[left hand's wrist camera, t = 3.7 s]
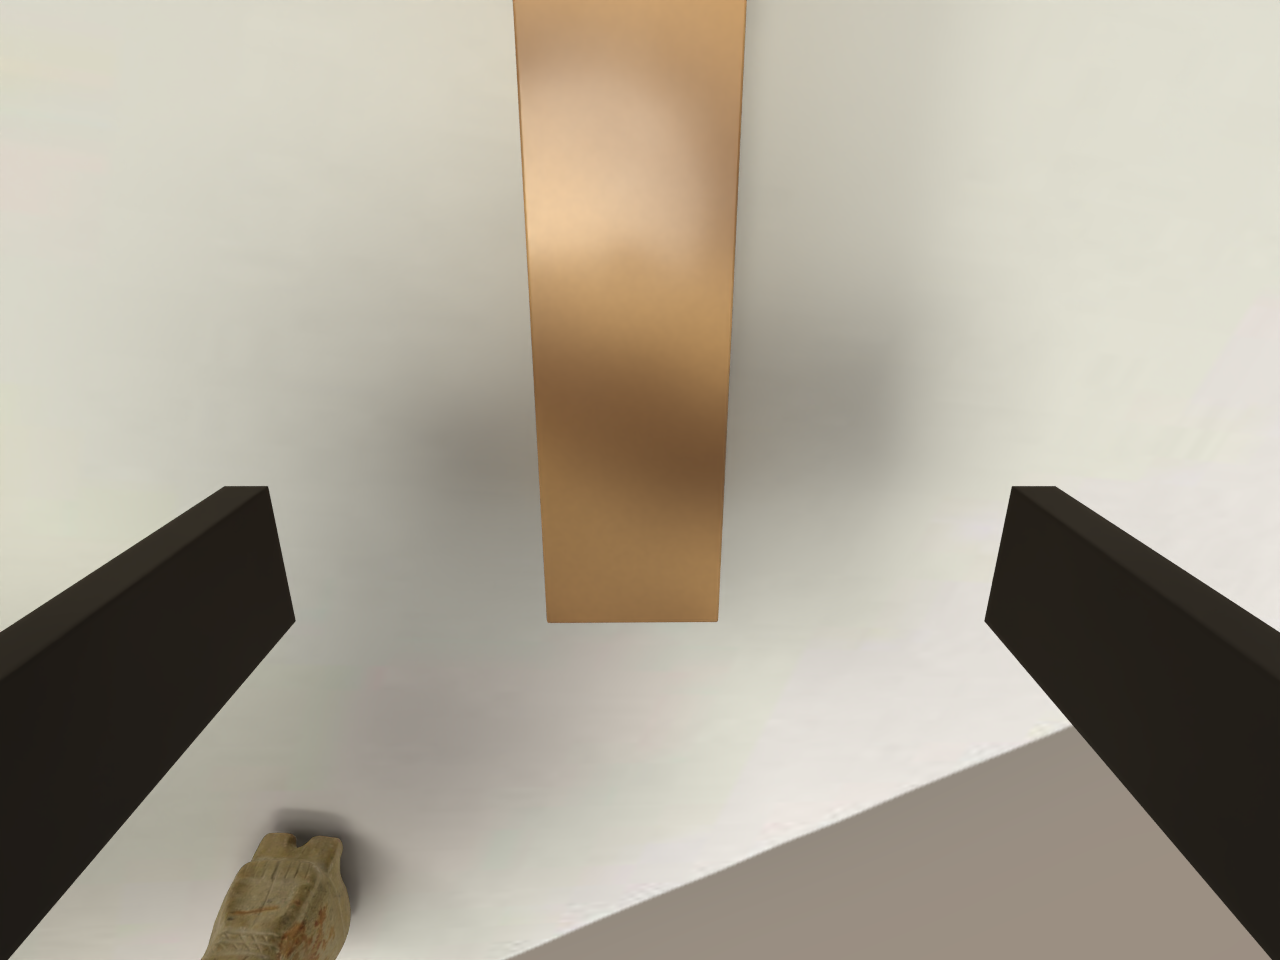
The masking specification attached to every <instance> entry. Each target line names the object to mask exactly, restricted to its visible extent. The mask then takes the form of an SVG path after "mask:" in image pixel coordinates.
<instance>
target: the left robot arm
mask: <svg viewBox="0 0 1280 960" xmlns="http://www.w3.org/2000/svg"><path fill="white" fill-rule="evenodd" d="M294 622H295V616H294V611H293V606H292V601H291V596H290V591H289V586H288V582H287V577H286V572H285V567H284V562H283V557H282V552H281V547H280V542H279V538H278V533H277V528H276V523H275V518H274V513H273V508H272V503H271V498H270V494H269V489H268V486H224V487H223V488H221V489H220V490H218V491H217V492H215V493H214V494H212V495H211V496H209V497H207V498H206V499H204V500H203V501H201V502H200V503H198V504H197V505H195V506H194V507H192V508H191V509H189V510H187V511H186V512H184V513H183V514H181V515H180V516H178V517H177V518H175V519H174V520H172V521H171V522H169V523H168V524H166V525H164V526H163V527H161V528H160V529H158V530H157V531H155V532H154V533H152V534H151V535H149V536H148V537H146V538H145V539H143V540H141V541H140V542H138V543H137V544H135V545H134V546H132V547H131V548H129V549H128V550H126V551H125V552H123V553H121V554H120V555H118V556H117V557H115V558H114V559H112V560H111V561H109V562H108V563H106V564H105V565H103V566H102V567H100V568H98V569H97V570H95V571H94V572H92V573H91V574H89V575H88V576H86V577H85V578H83V579H82V580H80V581H79V582H77V583H75V584H74V585H72V586H71V587H69V588H68V589H66V590H65V591H63V592H62V593H60V594H59V595H57V596H55V597H54V598H52V599H51V600H49V601H48V602H46V603H45V604H43V605H42V606H40V607H39V608H37V609H36V610H34V611H32V612H31V613H29V614H28V615H26V616H25V617H23V618H22V619H20V620H19V621H17V622H16V623H14V624H13V625H11V626H9V627H8V628H6V629H5V630H3V631H2V632H0V960H8V959H9V958H10V957H11V955H12V954H13V953H14V952H15V951H16V950H17V948H18V947H19V946H20V945H21V944H22V943H23V941H24V940H25V939H26V938H27V937H28V935H29V934H30V933H31V932H32V931H33V930H34V928H35V927H36V926H37V925H38V924H39V923H40V921H41V920H42V919H43V918H44V917H45V915H46V914H47V913H48V912H49V911H50V910H51V908H52V907H53V906H54V905H55V904H56V902H57V901H58V900H59V899H60V898H61V897H62V895H63V894H64V893H65V892H66V891H67V890H68V888H69V887H70V886H71V885H72V884H73V882H74V881H75V880H76V879H77V878H78V877H79V875H80V874H81V873H82V872H83V871H84V870H85V868H86V867H87V866H88V865H89V864H90V862H91V861H92V860H93V859H94V858H95V857H96V855H97V854H98V853H99V852H100V851H101V850H102V848H103V847H104V846H105V845H106V844H107V842H108V841H109V840H110V839H111V838H112V837H113V835H114V834H115V833H116V832H117V831H118V830H119V828H120V827H121V826H122V825H123V824H124V822H125V821H126V820H127V819H128V818H129V817H130V815H131V814H132V813H133V812H134V811H135V810H136V808H137V807H138V806H139V805H140V804H141V802H142V801H143V800H144V799H145V798H146V797H147V795H148V794H149V793H150V792H151V791H152V789H153V788H154V787H155V786H156V785H157V784H158V782H159V781H160V780H161V779H162V778H163V777H164V775H165V774H166V773H167V772H168V771H169V769H170V768H171V767H172V766H173V765H174V764H175V762H176V761H177V760H178V759H179V758H180V757H181V755H182V754H183V753H184V752H185V751H186V749H187V748H188V747H189V746H190V745H191V744H192V742H193V741H194V740H195V739H196V738H197V737H198V735H199V734H200V733H201V732H202V731H203V729H204V728H205V727H206V726H207V725H208V724H209V722H210V721H211V720H212V719H213V718H214V717H215V715H216V714H217V713H218V712H219V711H220V709H221V708H222V707H223V706H224V705H225V704H226V702H227V701H228V700H229V699H230V698H231V697H232V695H233V694H234V693H235V692H236V691H237V689H238V688H239V687H240V686H241V685H242V684H243V682H244V681H245V680H246V679H247V678H248V676H249V675H250V674H251V673H252V672H253V671H254V669H255V668H256V667H257V666H258V665H259V664H260V662H261V661H262V660H263V659H264V658H265V656H266V655H267V654H268V653H269V652H270V651H271V649H272V648H273V647H274V646H275V645H276V644H277V642H278V641H279V640H280V639H281V638H282V636H283V635H284V634H285V633H286V632H287V631H288V629H289V628H290V627H291V626H292V625H293V624H294ZM985 622H986V624H987V625H988V626H989V627H990V628H991V629H992V631H993V632H994V633H995V634H996V635H997V636H998V638H999V639H1000V640H1001V641H1002V642H1003V644H1004V645H1005V646H1006V647H1007V648H1008V649H1009V651H1010V652H1011V653H1012V654H1013V655H1014V656H1015V658H1016V659H1017V660H1018V661H1019V662H1020V664H1021V665H1022V666H1023V667H1024V668H1025V669H1026V671H1027V672H1028V673H1029V674H1030V675H1031V676H1032V678H1033V679H1034V680H1035V681H1036V682H1037V684H1038V685H1039V686H1040V687H1041V688H1042V689H1043V691H1044V692H1045V693H1046V694H1047V695H1048V697H1049V698H1050V699H1051V700H1052V701H1053V702H1054V704H1055V705H1056V706H1057V707H1058V708H1059V709H1060V711H1061V712H1062V713H1063V714H1064V715H1065V717H1066V718H1067V719H1068V720H1069V721H1070V722H1071V724H1072V725H1073V726H1074V727H1075V728H1076V729H1077V731H1078V732H1079V733H1080V734H1081V735H1082V737H1083V738H1084V739H1085V740H1086V741H1087V742H1088V744H1089V745H1090V746H1091V747H1092V748H1093V749H1094V751H1095V752H1096V753H1097V754H1098V755H1099V757H1100V758H1101V759H1102V760H1103V761H1104V762H1105V764H1106V765H1107V766H1108V767H1109V768H1110V769H1111V771H1112V772H1113V773H1114V774H1115V775H1116V777H1117V778H1118V779H1119V780H1120V781H1121V782H1122V784H1123V785H1124V786H1125V787H1126V788H1127V789H1128V791H1129V792H1130V793H1131V794H1132V795H1133V797H1134V798H1135V799H1136V800H1137V801H1138V802H1139V804H1140V805H1141V806H1142V807H1143V808H1144V810H1145V811H1146V812H1147V813H1148V814H1149V815H1150V817H1151V818H1152V819H1153V820H1154V821H1155V822H1156V824H1157V825H1158V826H1159V827H1160V828H1161V829H1162V831H1163V832H1164V833H1165V834H1166V835H1167V837H1168V838H1169V839H1170V840H1171V841H1172V842H1173V844H1174V845H1175V846H1176V847H1177V848H1178V850H1179V851H1180V852H1181V853H1182V854H1183V855H1184V857H1185V858H1186V859H1187V860H1188V861H1189V862H1190V864H1191V865H1192V866H1193V867H1194V868H1195V870H1196V871H1197V872H1198V873H1199V874H1200V875H1201V877H1202V878H1203V879H1204V880H1205V881H1206V882H1207V884H1208V885H1209V886H1210V887H1211V888H1212V890H1213V891H1214V892H1215V893H1216V894H1217V895H1218V897H1219V898H1220V899H1221V900H1222V901H1223V902H1224V904H1225V905H1226V906H1227V907H1228V908H1229V910H1230V911H1231V912H1232V913H1233V914H1234V915H1235V917H1236V918H1237V919H1238V920H1239V921H1240V923H1241V924H1242V925H1243V926H1244V927H1245V928H1246V930H1247V931H1248V932H1249V933H1250V934H1251V935H1252V937H1253V938H1254V939H1255V940H1256V941H1257V942H1258V944H1259V945H1260V946H1261V947H1262V948H1263V949H1264V951H1265V952H1266V953H1267V954H1268V955H1269V957H1270V958H1271V959H1272V960H1280V632H1278V631H1277V630H1275V629H1274V628H1272V627H1271V626H1269V625H1267V624H1266V623H1264V622H1263V621H1261V620H1260V619H1258V618H1257V617H1255V616H1254V615H1252V614H1251V613H1249V612H1248V611H1246V610H1244V609H1243V608H1241V607H1240V606H1238V605H1237V604H1235V603H1234V602H1232V601H1231V600H1229V599H1228V598H1226V597H1225V596H1223V595H1221V594H1220V593H1218V592H1217V591H1215V590H1214V589H1212V588H1211V587H1209V586H1208V585H1206V584H1205V583H1203V582H1201V581H1200V580H1198V579H1197V578H1195V577H1194V576H1192V575H1191V574H1189V573H1188V572H1186V571H1185V570H1183V569H1182V568H1180V567H1178V566H1177V565H1175V564H1174V563H1172V562H1171V561H1169V560H1168V559H1166V558H1165V557H1163V556H1162V555H1160V554H1159V553H1157V552H1155V551H1154V550H1152V549H1151V548H1149V547H1148V546H1146V545H1145V544H1143V543H1142V542H1140V541H1139V540H1137V539H1135V538H1134V537H1132V536H1131V535H1129V534H1128V533H1126V532H1125V531H1123V530H1122V529H1120V528H1119V527H1117V526H1116V525H1114V524H1112V523H1111V522H1109V521H1108V520H1106V519H1105V518H1103V517H1102V516H1100V515H1099V514H1097V513H1096V512H1094V511H1093V510H1091V509H1089V508H1088V507H1086V506H1085V505H1083V504H1082V503H1080V502H1079V501H1077V500H1076V499H1074V498H1073V497H1071V496H1069V495H1068V494H1066V493H1065V492H1063V491H1062V490H1060V489H1059V488H1057V487H1056V486H1012V489H1011V494H1010V498H1009V503H1008V508H1007V513H1006V518H1005V523H1004V528H1003V533H1002V538H1001V542H1000V547H999V552H998V557H997V562H996V567H995V572H994V577H993V582H992V586H991V591H990V596H989V601H988V606H987V611H986V616H985Z"/></svg>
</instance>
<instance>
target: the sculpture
mask: <svg viewBox="0 0 1280 960" xmlns="http://www.w3.org/2000/svg"><path fill="white" fill-rule="evenodd" d="M342 851H343V845H342V842H341V840H340V839H339V838H336V837H327V836H315V837H313V838H311V839H310V840H309V841H308V842H307V843H306V844H305V845H303V846H301V847H298V848H297V846H296V837H295V836H294V835H293V834H289V833H269V834H267V835H266V836H265V837H264V838H263V839H262V841H261V843H260V845H259V847H258V849H257V851H256V852H255V854H254V856H253V859H252V861H251V862H249V863H247V864H245V865H244V866H243V867H242V868H241V869H240V870H239V872H238V873H237V875H236V876H235V878H234V880H233V882H232V884H231V886H230V888H229V890H228V892H227V894H226V896H225V898H224V901H223V903H222V905H221V908H220V910H219V913H218V915H217V918H216V920H215V923H214V926H213V930H212V934H211V937H210V941H209V945H208V947H207V950H206V952H205V954H204V956H203V957H202V959H201V960H335V959H336V958H337V956H338V954H339V952H340V951H341V949H342V947H343V944H344V942H345V940H346V937H347V934H348V930H349V925H350V915H351V909H350V902H349V897H348V893H347V889H346V886H345V885H344V883H343V880H342V878H341V875H340V857H341V854H342Z"/></svg>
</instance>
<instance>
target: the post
mask: <svg viewBox="0 0 1280 960" xmlns="http://www.w3.org/2000/svg"><path fill="white" fill-rule="evenodd" d="M746 5H747V0H513V12H514V31H515V49H516V67H517V85H518V103H519V121H520V140H521V158H522V176H523V194H524V212H525V231H526V249H527V267H528V285H529V303H530V321H531V340H532V358H533V376H534V394H535V412H536V431H537V449H538V467H539V485H540V503H541V522H542V540H543V558H544V576H545V594H546V612H547V622H548V623H604V622H717V621H718V610H719V589H720V567H721V546H722V524H723V502H724V481H725V459H726V437H727V416H728V394H729V373H730V351H731V329H732V308H733V286H734V264H735V243H736V221H737V200H738V178H739V156H740V135H741V113H742V91H743V70H744V48H745V26H746Z"/></svg>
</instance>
